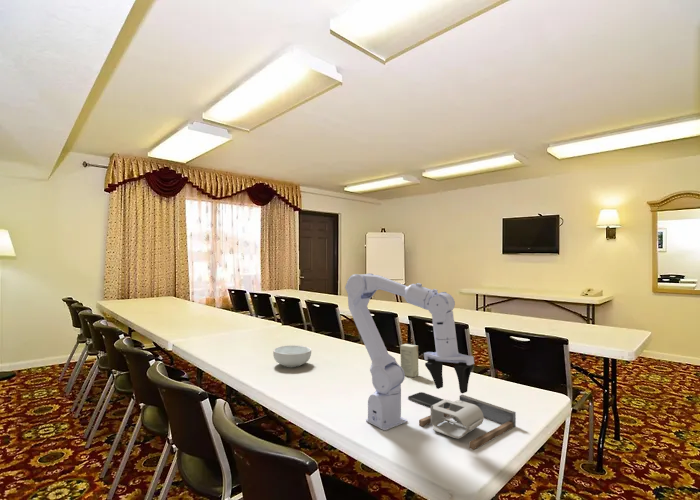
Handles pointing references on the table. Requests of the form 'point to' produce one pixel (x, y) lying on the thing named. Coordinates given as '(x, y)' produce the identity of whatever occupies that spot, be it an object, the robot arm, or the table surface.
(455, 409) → the cable organizer
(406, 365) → the skincare box
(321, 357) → the table surface
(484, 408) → the rail channel
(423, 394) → the phone
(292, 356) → the cereal bowl
